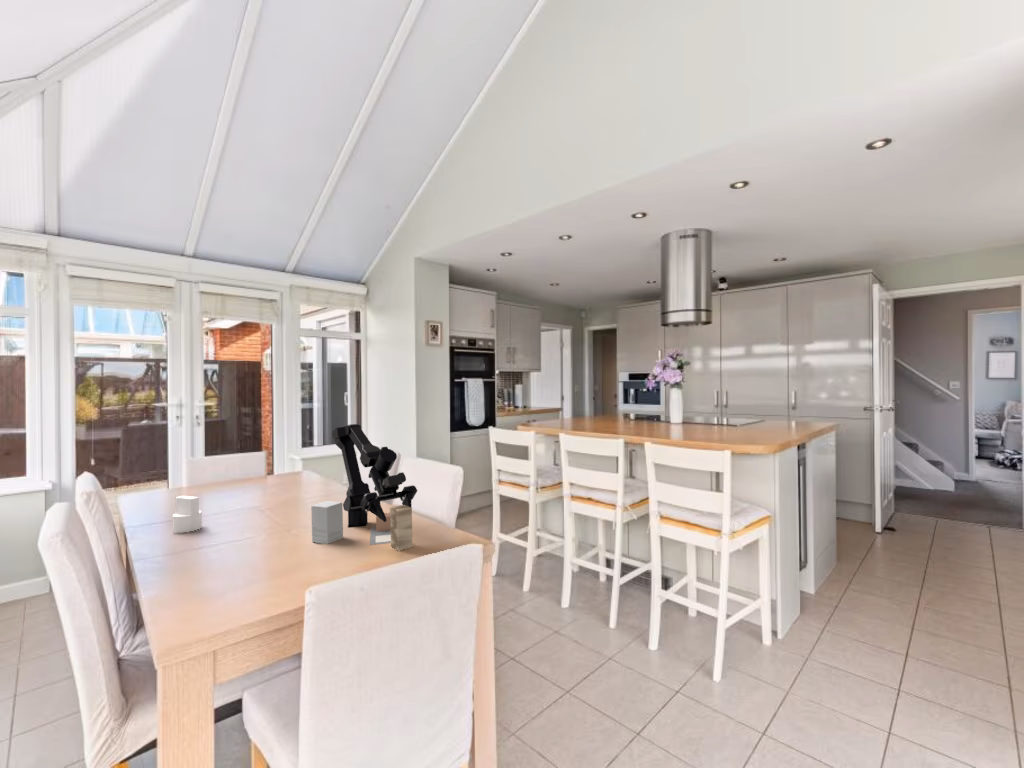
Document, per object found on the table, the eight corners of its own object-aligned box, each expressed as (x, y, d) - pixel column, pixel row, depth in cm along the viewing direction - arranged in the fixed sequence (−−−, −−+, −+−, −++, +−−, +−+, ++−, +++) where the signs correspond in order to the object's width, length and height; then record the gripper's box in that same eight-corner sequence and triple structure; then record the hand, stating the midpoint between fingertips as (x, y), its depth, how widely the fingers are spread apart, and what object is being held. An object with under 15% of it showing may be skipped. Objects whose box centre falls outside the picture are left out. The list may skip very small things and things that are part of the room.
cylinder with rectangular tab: (167, 531, 176) (166, 499, 176) (191, 524, 184) (190, 493, 184) (183, 534, 173) (182, 501, 173) (207, 527, 181) (206, 495, 181)
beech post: (390, 547, 156) (390, 507, 156) (404, 543, 159) (403, 504, 159) (398, 551, 152) (397, 510, 152) (412, 547, 155) (411, 507, 155)
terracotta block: (376, 531, 171) (376, 517, 171) (376, 527, 176) (376, 513, 176) (390, 530, 173) (390, 516, 173) (390, 526, 177) (390, 512, 177)
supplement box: (343, 538, 165) (343, 502, 165) (327, 545, 159) (326, 507, 159) (328, 535, 169) (327, 500, 168) (311, 542, 162) (310, 505, 162)
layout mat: (369, 546, 157) (369, 544, 157) (370, 528, 177) (370, 526, 177) (400, 542, 160) (400, 541, 160) (398, 525, 179) (398, 524, 179)
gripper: (363, 469, 155) (379, 509, 146) (414, 462, 167) (432, 498, 159) (353, 489, 160) (368, 529, 152) (403, 481, 173) (419, 517, 165)
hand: (398, 518), depth 157 cm, fingers open, 9 cm apart
